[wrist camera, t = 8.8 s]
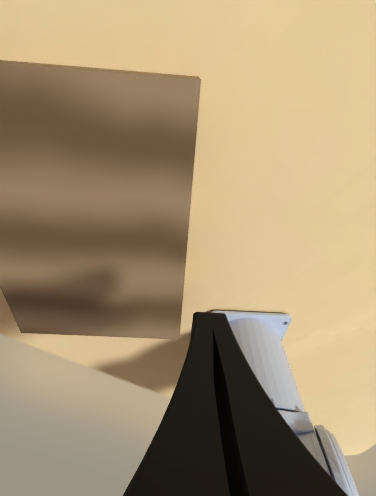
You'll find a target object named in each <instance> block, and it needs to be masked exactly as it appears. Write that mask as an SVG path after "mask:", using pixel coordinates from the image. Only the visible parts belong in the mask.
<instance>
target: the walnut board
mask: <svg viewBox="0 0 376 496" xmlns="http://www.w3.org/2000/svg"><path fill="white" fill-rule="evenodd" d="M200 84H201V79H200V78H199V77H195V76H183V75H171V74H159V73H147V72H135V71H123V70H111V69H99V68H87V67H75V66H63V65H52V64H40V63H28V62H16V61H4V60H0V287H1V289H2V291H3V294H4V296H5V298H6V300H7V302H8V305H9V307H10V309H11V311H12V313H13V316H14V318H15V320H16V322H17V324H18V327H19V329H20V331H21V333H38V334H62V335H86V336H109V337H133V338H157V339H179V336H180V324H181V312H182V300H183V288H184V276H185V264H186V252H187V240H188V228H189V216H190V204H191V192H192V180H193V168H194V156H195V144H196V132H197V120H198V108H199V96H200Z"/></svg>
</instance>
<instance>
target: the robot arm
mask: <svg viewBox="0 0 376 496" xmlns="http://www.w3.org/2000/svg"><path fill="white" fill-rule="evenodd" d="M290 321H291V316H290V315H289V314H281V313H260V312H238V311H217V310H216V311H212V312H211V313H207V312H195V313H194V314H193V322H192V330H191V339H190V344H189V348H188V352H187V356H186V359H185V362H184V365H183V368H182V371H181V374H180V377H179V380H178V383H177V385H176V388H175V391H174V393H173V395H172V398H171V400H170V403H169V405H168V408H167V410H166V412H165V414H164V417H163V419H162V421H161V424H160V426H159V428H158V430H157V432H156V434H155V436H154V438H153V440H152V442H151V444H150V446H149V448H148V450H147V452H146V454H145V456H144V458H143V460H142V462H141V464H140V465H139V467H138V469H137V471H136V473H135V475H134V476H133V478H132V480H131V482H130V484H129V485H128V487H127V489H126V491H125V493H124V495H123V496H359V495H358V492H357V489H356V486H355V483H354V481H353V478H352V476H351V473H350V471H349V468H348V465H347V463H346V460H345V458H344V456H343V453H342V451H341V449H340V446H339V444H338V442H337V440H336V438H335V437H334V435H333V434H332V433H331V432H329V431H328V430H327V429H325V428H324V426H322V425H315V426H314V428H313V425H312V422H311V419H310V417H309V414H308V412H305V409H304V406H303V403H302V400H301V398H300V395H299V392H298V389H297V386H296V383H295V380H294V377H293V374H292V371H291V368H290V365H289V362H288V359H287V356H286V353H285V350H284V347H283V344H282V340H283V337H284V335H285V333H286V331H287V328H288V326H289V324H290ZM314 429H315V431H314ZM315 433H316V434H315Z"/></svg>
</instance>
